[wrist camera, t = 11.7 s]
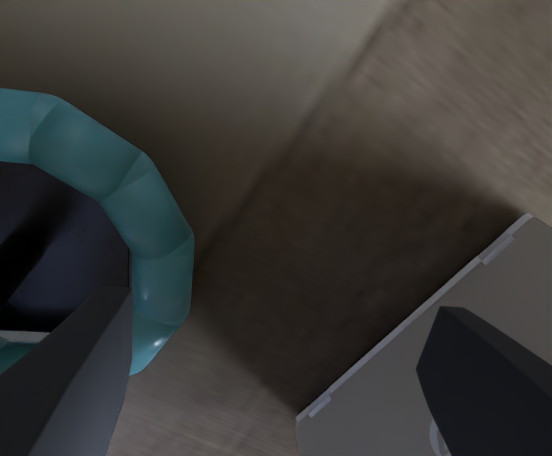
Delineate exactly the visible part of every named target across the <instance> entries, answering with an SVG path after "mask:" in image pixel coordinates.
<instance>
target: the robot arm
mask: <svg viewBox="0 0 552 456" xmlns="http://www.w3.org/2000/svg"><path fill="white" fill-rule="evenodd" d="M131 364H132V288H130V287H113V286H102V287H100V288H99V289H98V290H96V291H95V292H94V293H93V294H92V295H91V296H90V297H89V298H88V299H87V300H86V301H85V302H84V303H83V304H82V305H80V306H79V307H78V308H77V309H76V310H75V311H74V312H73V313H72V314H71V315H70V316H69V317H67V318H66V319H65V320H64V321H63V322H62V323H61V324H60V325H59V326H58V327H56V328H55V329H54V330H53V331H52V332H51V333H50V334H48V335H47V336H46V337H45V338H44V339H43V340H42V341H40V342H39V343H38V344H37V345H36V346H35V347H33V348H32V349H31V350H30V351H29V352H28V353H26V354H25V355H24V356H23V357H22V358H20V359H19V360H18V361H17V362H15V363H14V364H13V365H11V366H10V367H9V368H8V369H6V370H5V371H4V372H3V373H1V374H0V456H105V455H106V452H107V449H108V446H109V443H110V440H111V437H112V434H113V431H114V428H115V425H116V422H117V419H118V416H119V413H120V410H121V407H122V404H123V400H124V396H125V391H126V387H127V382H128V378H129V373H130V368H131ZM416 372H417V375H418V379H419V382H420V385H421V388H422V391H423V394H424V397H425V400H426V402H427V405H428V408H429V410H430V412H431V415H432V417H433V419H434V421H435V423H436V425H437V427H438V429H439V431H440V433H441V435H442V437H443V439H444V442H445V444H446V446H447V448H448V450H449V452H450V454H451V456H552V365H550V364H549V363H547V362H546V361H545V360H543V359H542V358H540V357H539V356H537V355H536V354H534V353H533V352H531V351H530V350H528V349H527V348H525V347H524V346H522V345H521V344H519V343H518V342H517V341H515V340H514V339H512V338H511V337H509V336H508V335H506V334H505V333H503V332H502V331H500V330H499V329H497V328H496V327H494V326H493V325H491V324H490V323H488V322H487V321H485V320H484V319H482V318H480V317H479V316H477V315H476V314H474V313H472V312H471V311H469V310H467V309H465V308H463V307H449V306H440V307H439V310H438V312H437V315H436V317H435V320H434V322H433V325H432V328H431V330H430V333H429V335H428V338H427V340H426V343H425V346H424V348H423V351H422V353H421V356H420V358H419V361H418V364H417V366H416Z"/></svg>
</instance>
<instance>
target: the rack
mask: <svg viewBox="0 0 552 456" xmlns="http://www.w3.org/2000/svg"><path fill="white" fill-rule="evenodd" d="M102 286H113V287H130V288H132V252H131V250H130V249H129V247H128V246H127V244H126V243H125V241H124V240H123V238H122V237H121V235H120V234H119V232H118V231H117V229H116V228H115V226H114V225H113V223H112V222H111V220H110V219H109V217H108V216H107V214H106V213H105V211H104V210H103V208H102V207H101V205H100V204H99V202H97V201H96V200H94V199H92V198H90V197H89V196H87V195H85V194H84V193H82V192H80V191H78V190H77V189H75V188H73V187H71V186H70V185H68V184H66V183H65V182H63V181H61V180H59V179H58V178H56V177H54V176H52V175H51V174H49V173H47V172H46V171H44V170H42V169H40V168H39V167H37V166H35V165H33V164H25V163H15V162H5V161H0V330H3V331H27V332H52V331H53V330H54V329H55V328H56V327H58V326H59V325H60V324H61V323H62V322H63V321H64V320H65V319H66V318H67V317H69V316H70V315H71V314H72V313H73V312H74V311H75V310H76V309H77V308H78V307H79V306H80V305H82V304H83V303H84V302H85V301H86V300H87V299H88V298H89V297H90V296H91V295H92V294H93V293H94V292H95V291H96V290H98V289H99V288H100V287H102Z"/></svg>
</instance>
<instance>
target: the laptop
mask: <svg viewBox="0 0 552 456" xmlns="http://www.w3.org/2000/svg"><path fill="white" fill-rule="evenodd" d="M440 306H449V307H463V308H465V309H467V310H469V311H471V312H472V313H474V314H476V315H477V316H479V317H480V318H482V319H484V320H485V321H487V322H488V323H490V324H491V325H493V326H494V327H496V328H497V329H499V330H500V331H502V332H503V333H505V334H506V335H508V336H509V337H511V338H512V339H514V340H515V341H517V342H518V343H519V344H521V345H522V346H524V347H525V348H527V349H528V350H530V351H531V352H533V353H534V354H536V355H537V356H539V357H540V358H542V359H543V360H545V361H546V362H547V363H549V364H550V365H552V227H550V226H549V225H547V224H546V223H544V222H542V221H541V220H539V219H538V218H536V217H533V216H532V215H531V214H528V213H526V214H524V215H523V216H522V217H520V218H519V219H518V220H517V221H516V222H515V223H514V224H512V225H511V226H510V227H509V228H508V229H507V230H506V232H504V233H503V234H502V235H501V236H500V237H498V238H497V239H496V240H495V241H494V242H493V243H492V244H491V245H489V246H488V247H487V248H486V249H485V250H484V251H483V252H482V253H480V254H479V255H478V256H476V257H475V258H474V259H473V260H472V261H471V262H470V263H468V264H467V265H466V266H465V267H464V268H463V269H462V270H461V271H459V272H458V273H457V274H456V275H455V276H454V277H453V278H452V279H450V280H449V281H448V282H447V283H446V284H445V285H444V286H443V287H441V288H440V289H439V290H438V291H437V292H436V293H435V294H434V295H432V296H431V297H430V298H429V299H428V300H427V301H426V302H425V303H423V304H422V305H421V306H420V307H419V308H418V309H417V310H416V311H414V312H413V313H412V314H411V315H410V316H409V317H408V318H407V319H405V320H404V321H403V322H402V323H401V324H400V325H399V326H398V327H396V328H395V329H394V330H393V331H392V332H391V333H390V334H389V335H387V336H386V337H385V338H384V339H383V340H382V341H381V342H380V343H378V344H377V345H376V346H375V347H374V348H373V349H372V350H371V351H369V352H368V353H367V354H366V355H365V356H364V357H363V358H362V359H360V360H359V361H358V362H357V363H356V364H355V365H354V366H353V367H351V368H350V369H349V370H348V371H347V372H346V373H345V374H344V375H342V376H341V377H340V378H339V379H338V380H337V381H336V382H335V383H333V384H332V385H331V386H330V387H329V388H328V389H327V390H326V391H325V392H324V393H323V394H322V395H321V396H319V397H318V398H317V399H316V400H315V401H314V402H313V403H312V404H310V405H309V406H308V407H306V408H305V409H304V410H303V411H302V412H301V413H300V414H299V415H298V416H297V417H296V418H295V420H296V421H297V424H296V426H295V433H296V440H297V446H298V452H299V456H451V454H450V452H449V450H448V448H447V446H446V444H445V442H444V439H443V437H442V435H441V433H440V431H439V429H438V427H437V425H436V423H435V421H434V419H433V417H432V415H431V412H430V410H429V408H428V405H427V402H426V400H425V397H424V394H423V391H422V388H421V385H420V382H419V379H418V375H417V372H416V366H417V364H418V361H419V358H420V356H421V353H422V351H423V348H424V346H425V343H426V340H427V338H428V335H429V333H430V330H431V328H432V325H433V322H434V320H435V317H436V315H437V312H438V310H439V307H440Z"/></svg>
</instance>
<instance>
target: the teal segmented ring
mask: <svg viewBox="0 0 552 456" xmlns="http://www.w3.org/2000/svg"><path fill="white" fill-rule="evenodd" d="M0 161H5V162H15V163H25V164H33V165H35V166H37V167H39V168H40V169H42V170H44V171H46V172H47V173H49V174H51V175H52V176H54V177H56V178H58V179H59V180H61V181H63V182H65V183H66V184H68V185H70V186H71V187H73V188H75V189H77V190H78V191H80V192H82V193H84V194H85V195H87V196H89V197H90V198H92V199H94V200H96V201H97V202H99V204H100V205H101V207H102V208H103V210H104V211H105V213H106V214H107V216H108V217H109V219H110V220H111V222H112V223H113V225H114V226H115V228H116V229H117V231H118V232H119V234H120V235H121V237H122V238H123V240H124V241H125V243H126V244H127V246H128V247H129V249H130V250H131V252H132V364H131V368H130V373H129V376H131V375H134V374H136V373H138V372H140V371H141V370H142V369H144V368H145V367H146V366H147V365H148V364H149V362H150V361H151V360H152V359H153V358H154V356H155V355H156V354H157V353H158V352H159V350H160V349H161V348H162V347H163V346H164V344H165V343H166V342H167V341H168V340H169V338H170V337H171V336H172V335H173V334H174V332H175V331H176V330H177V329H178V327H179V326H180V325H181V324H182V323H183V321H184V320H185V319H186V317H187V315H188V313H189V310H190V305H191V290H192V275H193V260H194V235H193V232H192V230H191V228H190V226H189V224H188V223H187V221H186V219H185V217H184V216H183V214H182V212H181V210H180V209H179V207H178V205H177V203H176V201H175V200H174V198H173V196H172V194H171V193H170V191H169V189H168V187H167V186H166V184H165V182H164V180H163V179H162V177H161V175H160V173H159V172H158V170H157V168H156V166H155V165H154V163H153V161H152V160H151V159H150V157H149V156H148V155H146V154H145V153H144V152H143V151H141V150H140V149H138V148H137V147H135V146H134V145H132V144H130V143H129V142H127V141H126V140H124V139H123V138H121V137H120V136H118V135H117V134H115V133H114V132H112V131H111V130H109V129H107V128H106V127H104V126H103V125H101V124H100V123H98V122H97V121H95V120H94V119H92V118H91V117H89V116H87V115H86V114H84V113H83V112H81V111H80V110H78V109H77V108H75V107H74V106H72V105H71V104H69V103H68V102H66V101H64V100H63V99H61V98H59V97H56V96H54V95H50V94H46V93H39V92H31V91H23V90H14V89H6V88H0ZM38 343H39V342H27V341H9V340H7V339H4V338H2V337H0V374H1V373H3V372H4V371H5V370H6V369H8V368H9V367H10V366H11V365H13V364H14V363H15V362H17V361H18V360H19V359H20V358H22V357H23V356H24V355H25V354H26V353H28V352H29V351H30V350H31V349H32V348H33V347H35V346H36V345H37V344H38Z"/></svg>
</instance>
